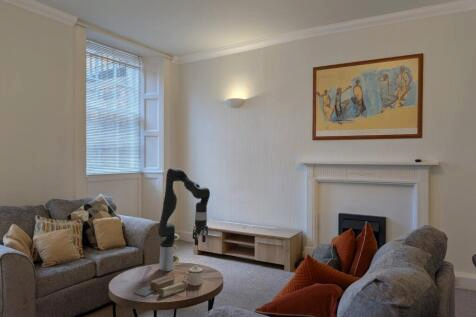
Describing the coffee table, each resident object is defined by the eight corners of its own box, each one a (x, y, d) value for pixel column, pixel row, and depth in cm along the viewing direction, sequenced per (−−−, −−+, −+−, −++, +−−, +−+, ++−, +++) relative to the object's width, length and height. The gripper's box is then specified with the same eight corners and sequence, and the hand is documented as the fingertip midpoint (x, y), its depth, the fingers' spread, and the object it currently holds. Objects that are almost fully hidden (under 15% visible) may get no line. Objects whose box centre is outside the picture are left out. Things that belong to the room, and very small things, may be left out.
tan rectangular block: (150, 289, 208) (150, 281, 208) (165, 283, 217) (166, 276, 217) (158, 292, 203) (158, 284, 203) (173, 286, 212) (173, 279, 212)
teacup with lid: (201, 280, 224) (201, 262, 223) (203, 285, 215) (203, 267, 215) (183, 281, 221) (183, 263, 221) (184, 286, 212) (184, 268, 212)
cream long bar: (159, 296, 197) (159, 288, 197) (183, 287, 211) (183, 280, 211) (162, 297, 195) (162, 289, 195) (186, 288, 209) (186, 281, 209)
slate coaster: (133, 293, 200) (133, 292, 200) (144, 288, 208) (144, 287, 208) (145, 296, 196) (145, 295, 196) (155, 291, 204) (155, 290, 204)
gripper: (202, 216, 222) (201, 240, 223) (189, 219, 210) (188, 245, 210) (211, 217, 219) (210, 242, 219) (199, 221, 206) (198, 247, 207)
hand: (200, 243), depth 215 cm, fingers open, 8 cm apart
